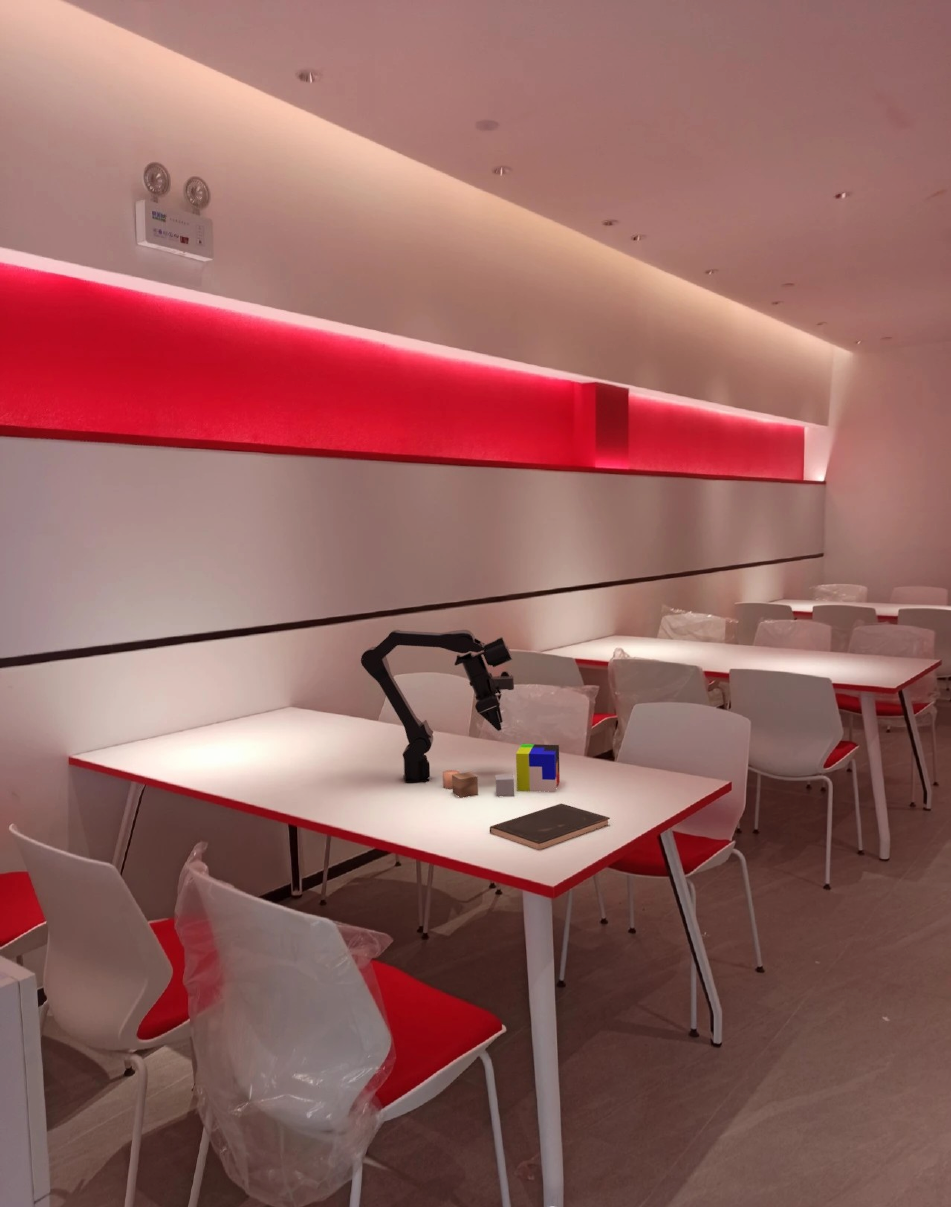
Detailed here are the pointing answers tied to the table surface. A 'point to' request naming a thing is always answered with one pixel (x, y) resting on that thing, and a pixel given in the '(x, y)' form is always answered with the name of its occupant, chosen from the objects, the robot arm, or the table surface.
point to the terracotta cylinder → (448, 778)
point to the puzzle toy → (537, 767)
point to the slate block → (504, 785)
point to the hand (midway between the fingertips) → (500, 726)
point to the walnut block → (465, 784)
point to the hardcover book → (549, 826)
